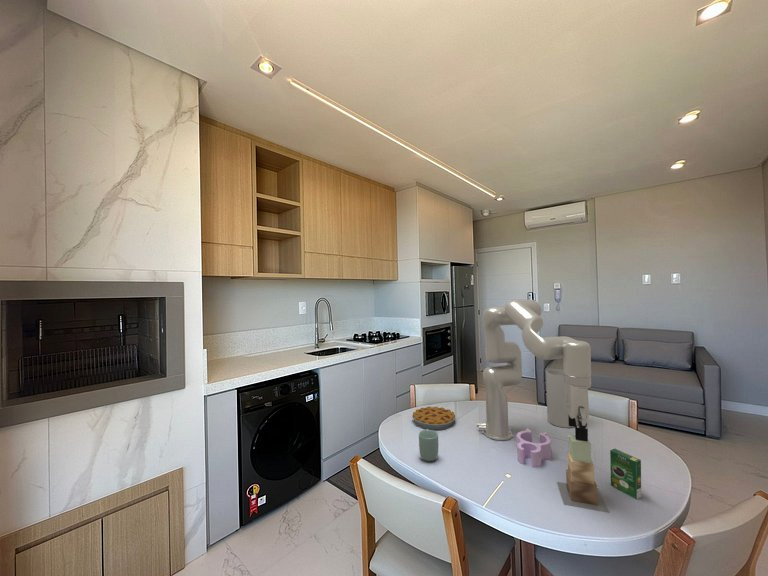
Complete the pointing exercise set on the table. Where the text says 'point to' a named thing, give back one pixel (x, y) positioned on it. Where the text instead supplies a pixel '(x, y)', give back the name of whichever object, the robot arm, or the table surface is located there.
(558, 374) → the cylinder vase
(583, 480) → the brick oak
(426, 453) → the cup
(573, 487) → the brick walnut
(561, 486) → the base tile
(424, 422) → the pie
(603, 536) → the table surface
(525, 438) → the clip
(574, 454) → the brick sage
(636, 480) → the coffee box
